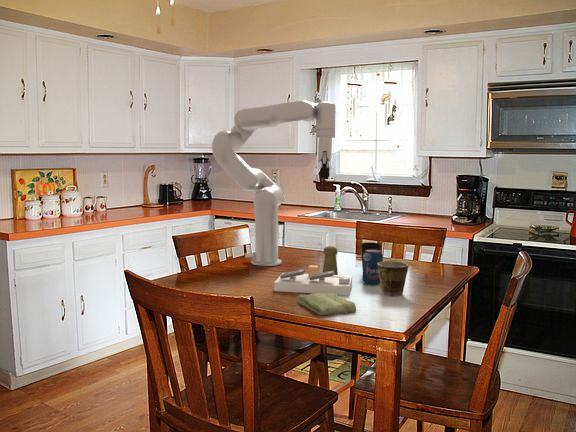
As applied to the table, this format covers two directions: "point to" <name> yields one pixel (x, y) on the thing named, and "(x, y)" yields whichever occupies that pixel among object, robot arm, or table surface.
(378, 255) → the soda can
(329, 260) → the brown upright piece
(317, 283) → the panel
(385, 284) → the ceramic cup
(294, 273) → the rocker left
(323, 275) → the rocker right
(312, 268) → the fader knob
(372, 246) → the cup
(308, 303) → the washcloth
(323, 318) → the table surface
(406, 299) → the table surface
